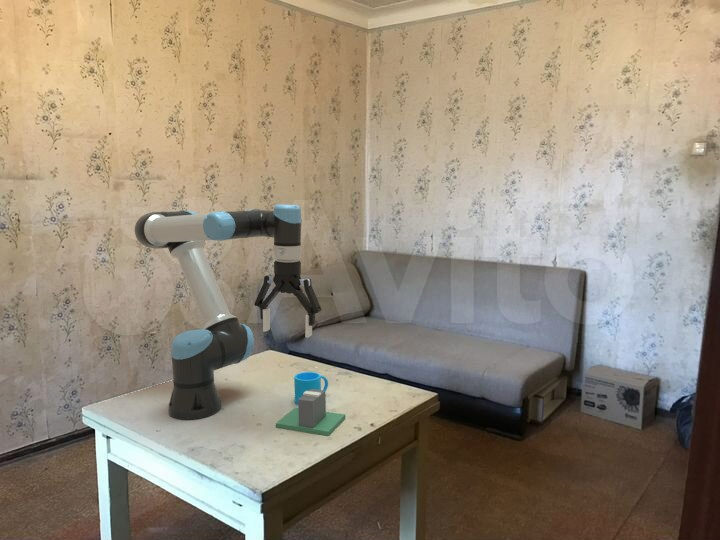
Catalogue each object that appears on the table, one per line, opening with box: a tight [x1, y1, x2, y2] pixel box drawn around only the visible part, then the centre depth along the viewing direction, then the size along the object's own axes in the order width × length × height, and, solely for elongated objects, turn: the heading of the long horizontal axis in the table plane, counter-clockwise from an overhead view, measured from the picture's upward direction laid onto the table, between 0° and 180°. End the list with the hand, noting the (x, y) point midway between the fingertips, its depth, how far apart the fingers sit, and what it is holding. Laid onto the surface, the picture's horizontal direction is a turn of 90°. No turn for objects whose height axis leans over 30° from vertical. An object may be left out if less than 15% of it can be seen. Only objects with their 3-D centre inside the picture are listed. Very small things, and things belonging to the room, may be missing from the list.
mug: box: [293, 371, 329, 406], centre depth 170 cm, size 12×8×8 cm
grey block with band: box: [297, 389, 327, 428], centre depth 151 cm, size 4×8×8 cm, turn 160°
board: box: [275, 406, 346, 437], centre depth 153 cm, size 16×12×5 cm
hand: (287, 333), depth 156 cm, fingers open, 13 cm apart
